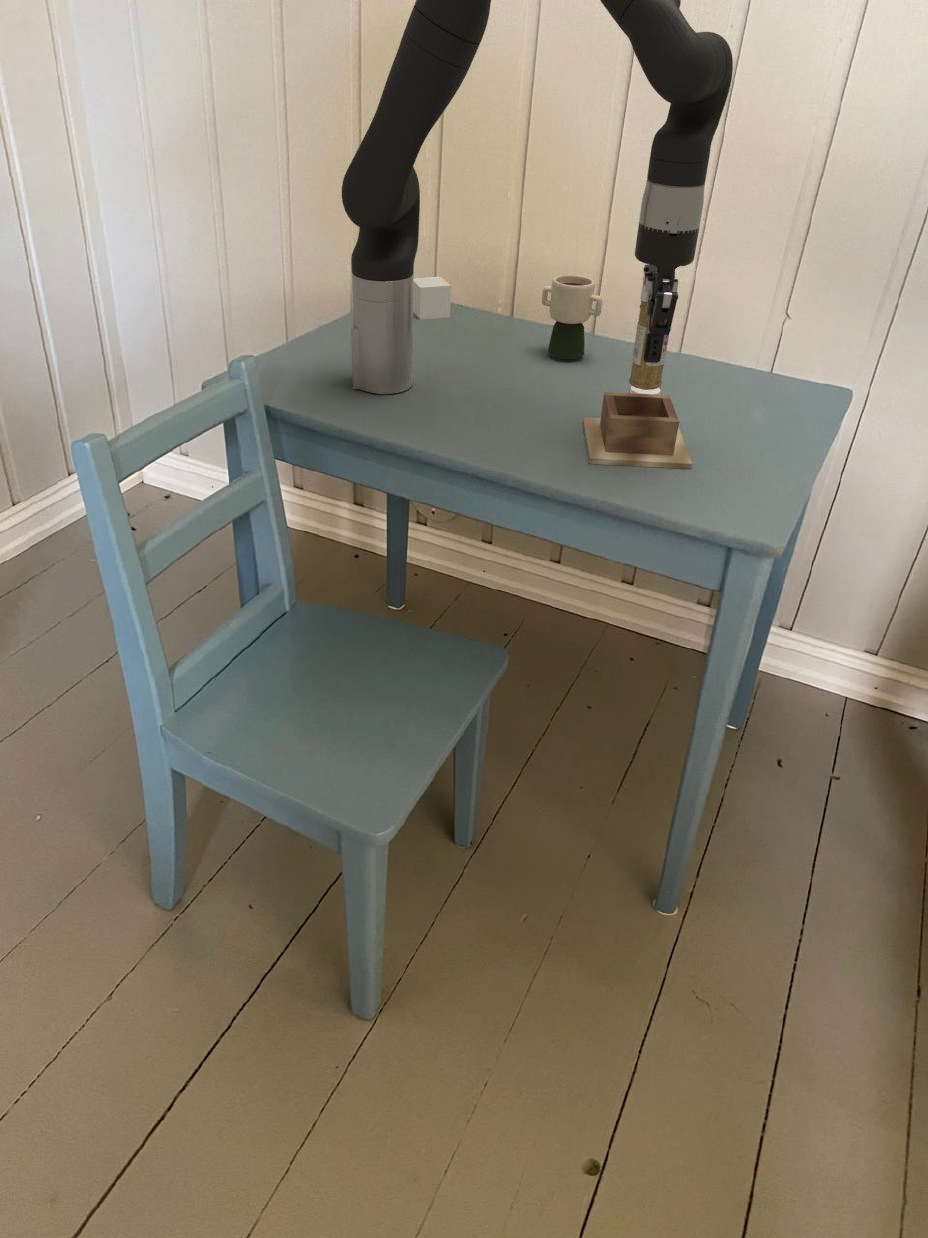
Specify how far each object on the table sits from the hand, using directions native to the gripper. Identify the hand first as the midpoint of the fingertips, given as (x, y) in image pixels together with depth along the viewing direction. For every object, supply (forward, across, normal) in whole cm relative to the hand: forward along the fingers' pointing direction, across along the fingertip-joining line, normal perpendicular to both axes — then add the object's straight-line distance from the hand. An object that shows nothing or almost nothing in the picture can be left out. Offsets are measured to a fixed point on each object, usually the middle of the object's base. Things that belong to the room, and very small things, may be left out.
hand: (649, 354), depth 126 cm
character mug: (+13, -35, -8) cm, 38 cm away
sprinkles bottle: (+4, 0, 0) cm, 4 cm away
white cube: (+13, -55, -33) cm, 65 cm away
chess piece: (+13, -20, +4) cm, 24 cm away
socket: (+13, 0, 0) cm, 13 cm away
